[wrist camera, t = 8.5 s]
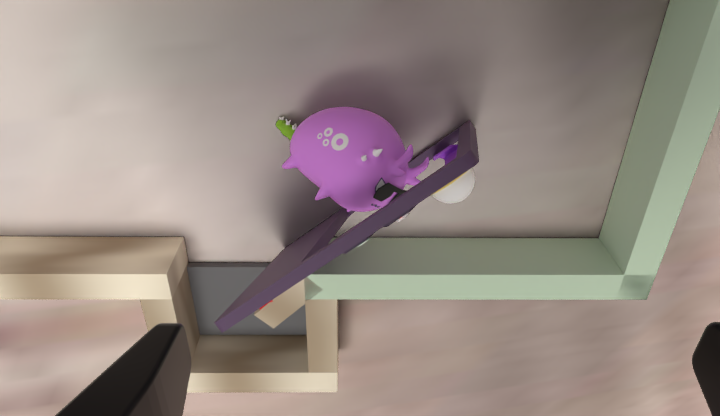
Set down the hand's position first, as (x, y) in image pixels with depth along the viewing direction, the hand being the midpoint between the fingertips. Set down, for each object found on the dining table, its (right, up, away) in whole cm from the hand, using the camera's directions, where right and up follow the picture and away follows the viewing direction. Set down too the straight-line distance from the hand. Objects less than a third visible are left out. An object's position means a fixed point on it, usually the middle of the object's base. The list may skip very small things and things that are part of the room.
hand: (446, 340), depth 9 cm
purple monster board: (-2, +4, +11) cm, 12 cm away
